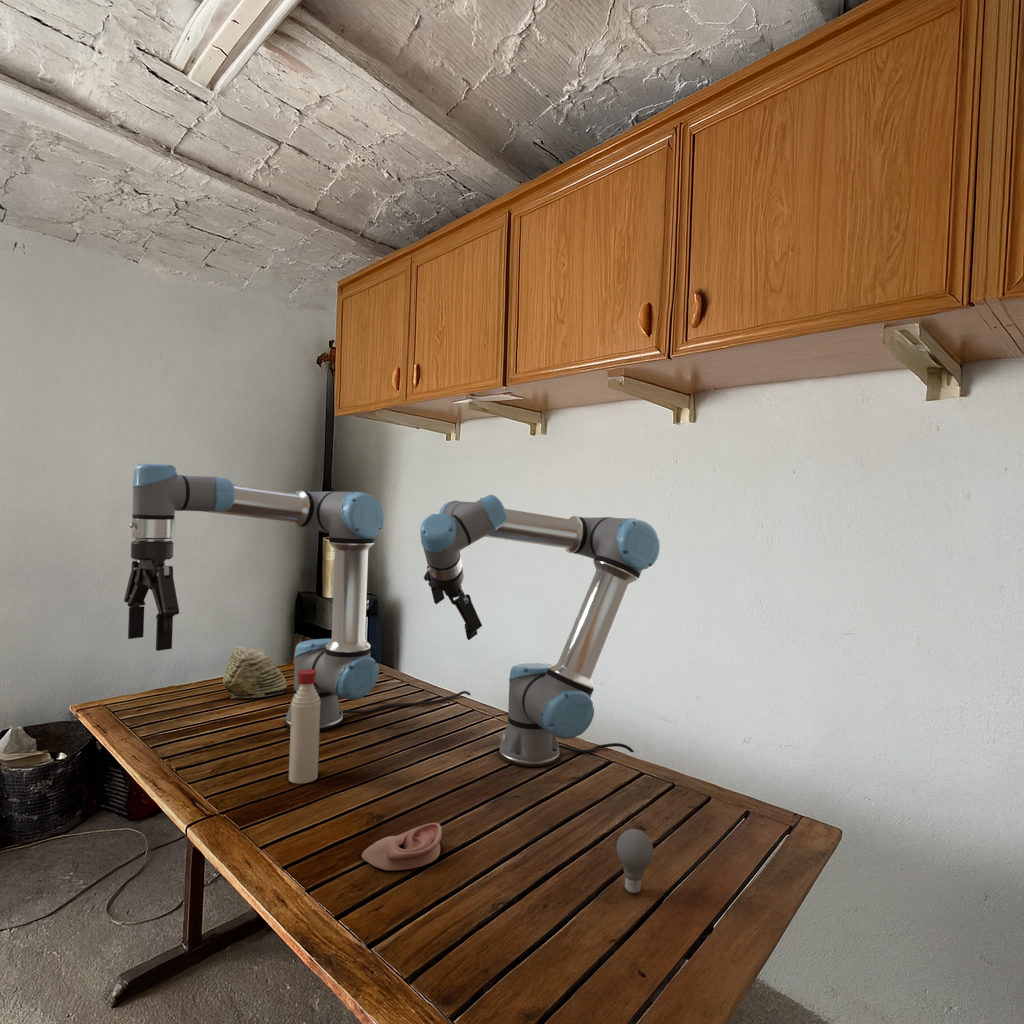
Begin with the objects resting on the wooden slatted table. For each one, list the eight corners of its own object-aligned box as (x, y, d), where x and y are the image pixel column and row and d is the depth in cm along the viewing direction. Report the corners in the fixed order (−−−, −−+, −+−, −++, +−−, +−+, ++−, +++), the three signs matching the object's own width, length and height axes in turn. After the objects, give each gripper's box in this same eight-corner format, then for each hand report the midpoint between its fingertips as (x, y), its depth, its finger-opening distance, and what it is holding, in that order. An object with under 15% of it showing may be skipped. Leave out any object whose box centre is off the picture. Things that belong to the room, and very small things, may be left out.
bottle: (282, 778, 142) (286, 673, 141) (305, 769, 147) (309, 668, 146) (300, 786, 138) (304, 679, 138) (323, 776, 143) (327, 673, 143)
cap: (294, 682, 142) (294, 671, 142) (308, 678, 145) (308, 668, 145) (305, 685, 139) (305, 675, 139) (319, 681, 143) (320, 671, 143)
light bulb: (610, 879, 108) (613, 822, 108) (644, 879, 109) (647, 822, 109) (619, 902, 102) (622, 840, 102) (655, 901, 103) (658, 840, 103)
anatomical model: (354, 842, 109) (381, 811, 120) (353, 865, 109) (380, 831, 121) (427, 854, 107) (448, 821, 118) (426, 877, 107) (447, 842, 118)
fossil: (218, 695, 195) (220, 647, 195) (278, 685, 208) (279, 640, 207) (228, 703, 189) (230, 653, 188) (289, 692, 201) (290, 645, 201)
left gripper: (108, 535, 134) (105, 635, 134) (159, 545, 118) (155, 658, 118) (146, 535, 140) (143, 631, 140) (200, 543, 124) (196, 651, 124)
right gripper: (400, 544, 147) (414, 594, 163) (466, 614, 134) (474, 661, 150) (427, 527, 150) (438, 578, 166) (493, 594, 137) (498, 642, 153)
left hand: (149, 643), depth 129 cm, fingers open, 13 cm apart
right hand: (455, 618), depth 158 cm, fingers open, 13 cm apart
